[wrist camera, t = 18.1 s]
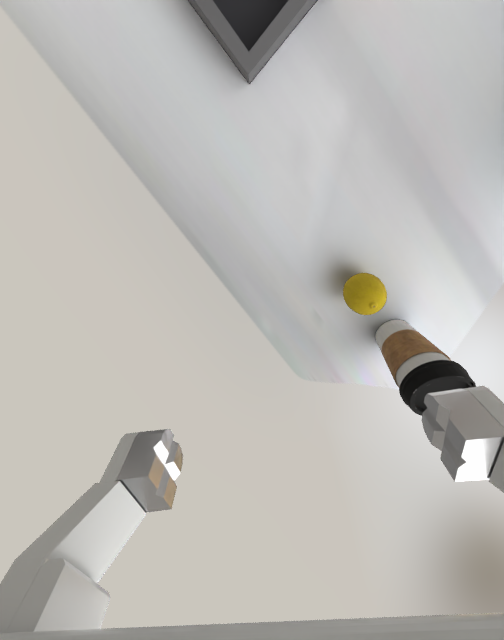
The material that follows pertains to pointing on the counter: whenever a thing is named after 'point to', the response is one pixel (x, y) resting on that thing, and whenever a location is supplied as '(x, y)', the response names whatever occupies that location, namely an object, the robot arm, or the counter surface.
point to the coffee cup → (418, 364)
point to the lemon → (365, 293)
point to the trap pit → (251, 28)
